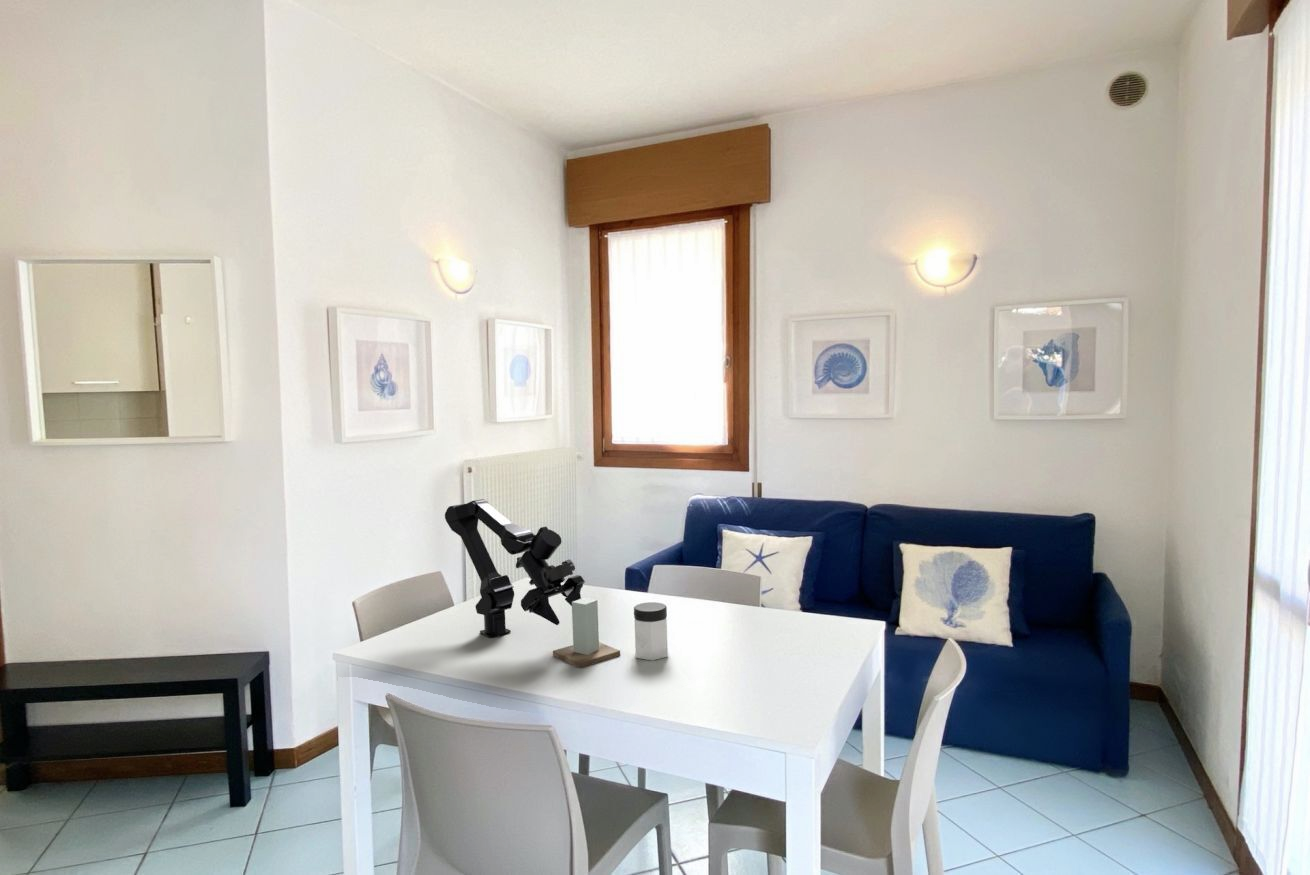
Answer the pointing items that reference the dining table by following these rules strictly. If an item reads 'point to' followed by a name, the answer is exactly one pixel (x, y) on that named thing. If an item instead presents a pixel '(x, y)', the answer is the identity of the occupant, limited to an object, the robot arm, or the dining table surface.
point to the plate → (585, 660)
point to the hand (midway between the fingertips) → (571, 619)
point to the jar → (651, 631)
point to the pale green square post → (585, 626)
